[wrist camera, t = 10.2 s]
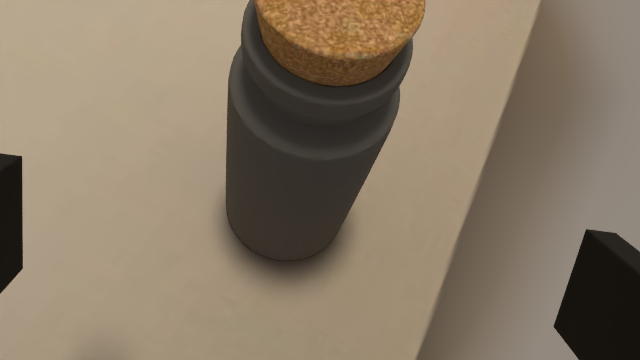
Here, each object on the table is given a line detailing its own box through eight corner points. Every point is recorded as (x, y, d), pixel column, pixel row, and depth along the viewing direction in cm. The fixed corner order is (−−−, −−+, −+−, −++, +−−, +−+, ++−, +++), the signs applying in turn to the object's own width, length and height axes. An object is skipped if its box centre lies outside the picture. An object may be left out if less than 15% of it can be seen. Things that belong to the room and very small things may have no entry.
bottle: (211, 245, 27) (201, 40, 14) (242, 141, 30) (260, -117, 16) (331, 275, 27) (436, 102, 14) (352, 168, 30) (457, -63, 17)
